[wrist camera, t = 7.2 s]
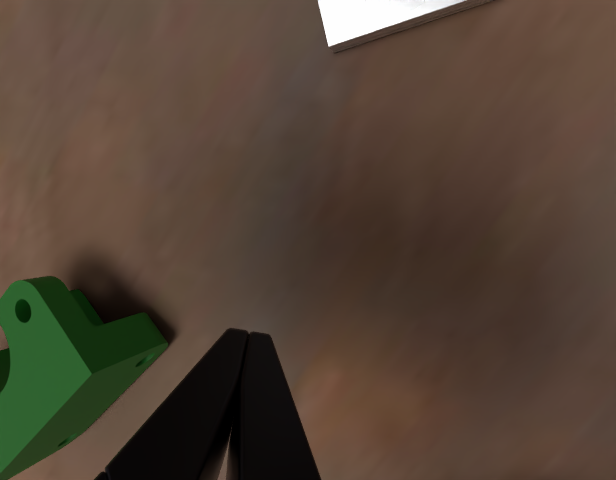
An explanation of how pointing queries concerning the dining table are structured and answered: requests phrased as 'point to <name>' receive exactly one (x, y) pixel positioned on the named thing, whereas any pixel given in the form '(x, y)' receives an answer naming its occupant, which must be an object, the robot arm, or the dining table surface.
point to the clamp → (62, 367)
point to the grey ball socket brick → (381, 17)
